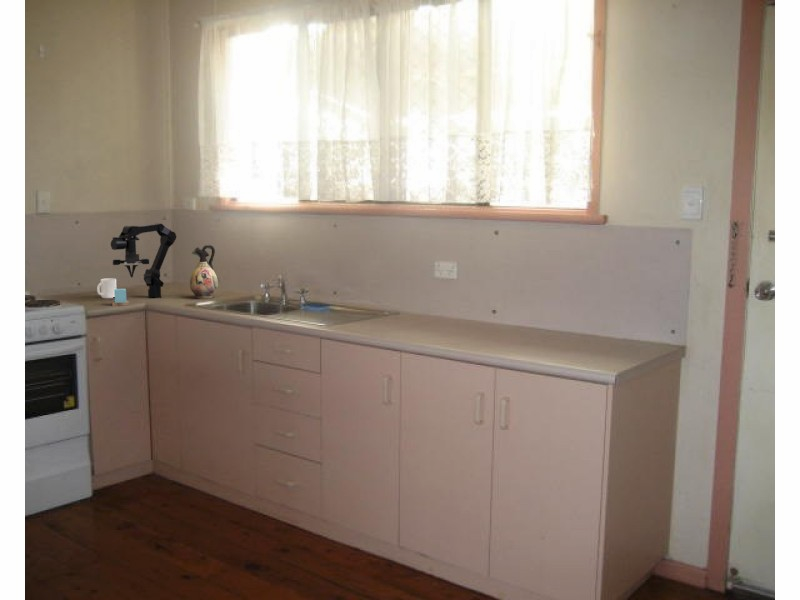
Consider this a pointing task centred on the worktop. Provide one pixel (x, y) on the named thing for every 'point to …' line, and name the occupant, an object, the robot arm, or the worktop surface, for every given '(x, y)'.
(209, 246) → the ceramic jug
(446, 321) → the worktop surface
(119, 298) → the light blue block
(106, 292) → the mug
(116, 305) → the stand
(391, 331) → the worktop surface
